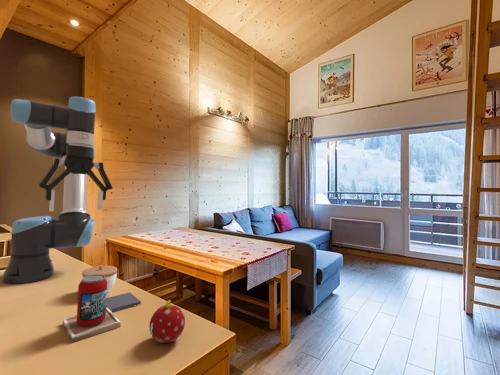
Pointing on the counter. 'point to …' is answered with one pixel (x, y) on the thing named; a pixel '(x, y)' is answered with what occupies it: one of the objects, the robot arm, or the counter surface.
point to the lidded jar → (107, 271)
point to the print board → (83, 332)
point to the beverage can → (92, 300)
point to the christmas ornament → (167, 323)
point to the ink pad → (121, 302)
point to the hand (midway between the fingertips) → (76, 210)
